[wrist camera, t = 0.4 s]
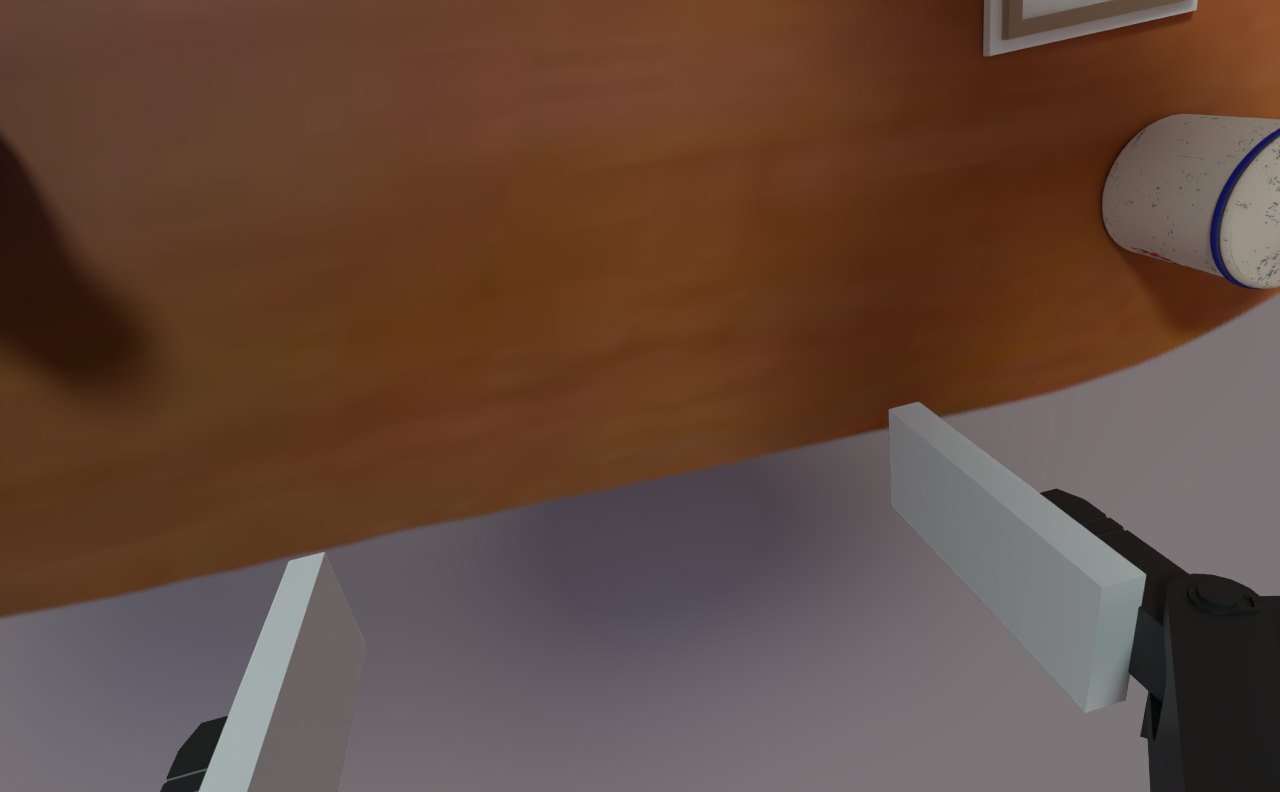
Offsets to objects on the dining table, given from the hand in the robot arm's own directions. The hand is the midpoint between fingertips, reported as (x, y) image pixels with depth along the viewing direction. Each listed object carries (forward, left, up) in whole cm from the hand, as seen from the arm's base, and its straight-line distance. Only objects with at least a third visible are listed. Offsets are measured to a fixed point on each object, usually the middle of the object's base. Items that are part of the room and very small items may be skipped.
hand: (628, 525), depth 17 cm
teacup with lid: (+5, +41, -28) cm, 50 cm away
